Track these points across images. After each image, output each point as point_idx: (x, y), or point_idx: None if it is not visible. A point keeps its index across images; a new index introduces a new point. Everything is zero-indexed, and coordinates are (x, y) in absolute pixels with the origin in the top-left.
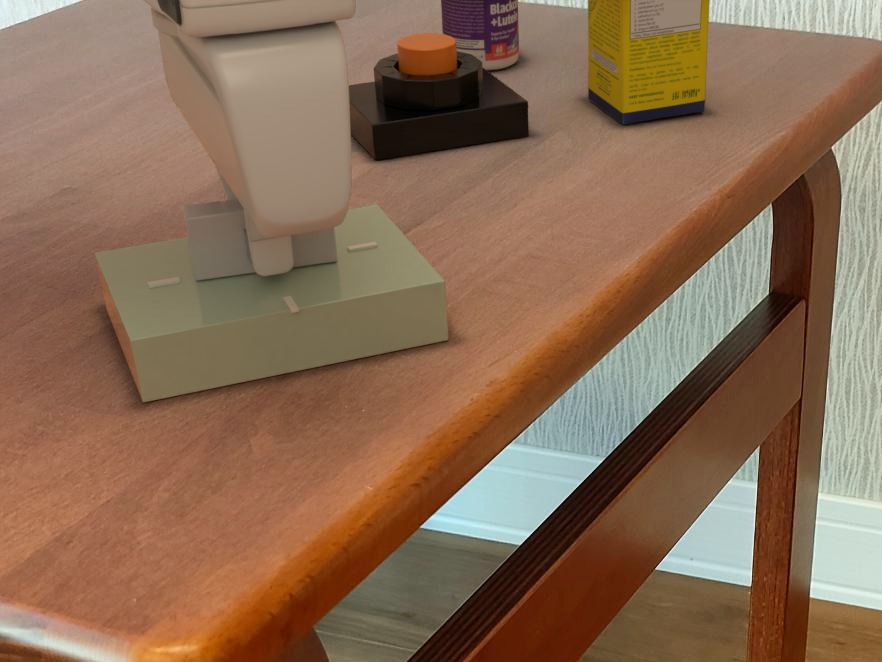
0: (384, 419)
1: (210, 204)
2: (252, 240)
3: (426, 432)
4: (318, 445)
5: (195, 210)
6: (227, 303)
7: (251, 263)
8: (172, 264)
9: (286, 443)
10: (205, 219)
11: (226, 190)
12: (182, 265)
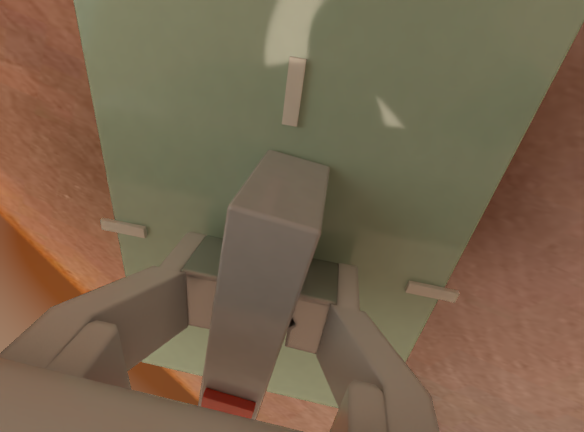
0: (46, 203)
1: (285, 282)
2: (149, 268)
3: (19, 219)
4: (4, 129)
5: (263, 244)
6: (161, 158)
7: (204, 238)
8: (377, 142)
9: (10, 101)
10: (222, 241)
11: (350, 336)
12: (356, 155)
